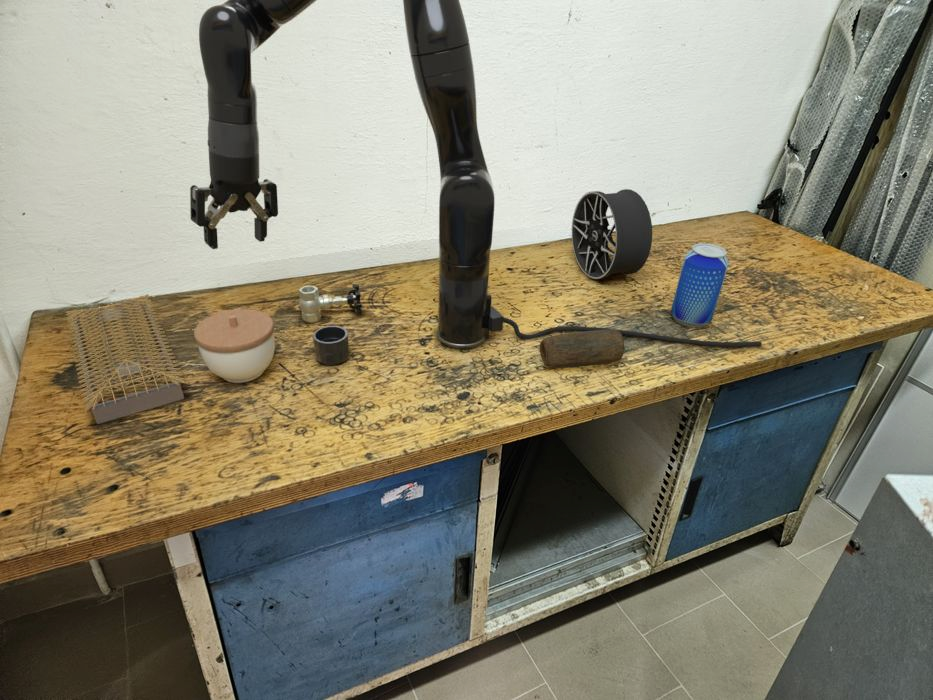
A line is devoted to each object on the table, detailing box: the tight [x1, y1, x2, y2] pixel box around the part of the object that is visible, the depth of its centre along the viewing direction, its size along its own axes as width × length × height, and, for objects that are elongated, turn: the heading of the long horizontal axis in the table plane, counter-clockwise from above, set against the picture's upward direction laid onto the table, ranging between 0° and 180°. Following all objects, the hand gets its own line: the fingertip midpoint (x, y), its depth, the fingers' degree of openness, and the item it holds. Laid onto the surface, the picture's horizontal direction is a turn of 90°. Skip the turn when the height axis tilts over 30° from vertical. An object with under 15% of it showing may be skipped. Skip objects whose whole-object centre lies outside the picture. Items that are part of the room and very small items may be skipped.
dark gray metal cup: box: [312, 325, 350, 366], centre depth 107 cm, size 6×6×5 cm
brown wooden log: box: [539, 328, 625, 369], centre depth 108 cm, size 15×7×7 cm, turn 105°
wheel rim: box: [571, 188, 653, 280], centre depth 138 cm, size 20×9×20 cm, turn 20°
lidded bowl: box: [193, 308, 276, 384], centre depth 101 cm, size 13×13×11 cm
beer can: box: [670, 242, 730, 329], centre depth 121 cm, size 8×8×16 cm
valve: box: [298, 283, 363, 323], centre depth 119 cm, size 7×7×12 cm
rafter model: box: [65, 294, 188, 425], centre depth 103 cm, size 35×14×6 cm, turn 33°
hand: (237, 243), depth 102 cm, fingers open, 8 cm apart
